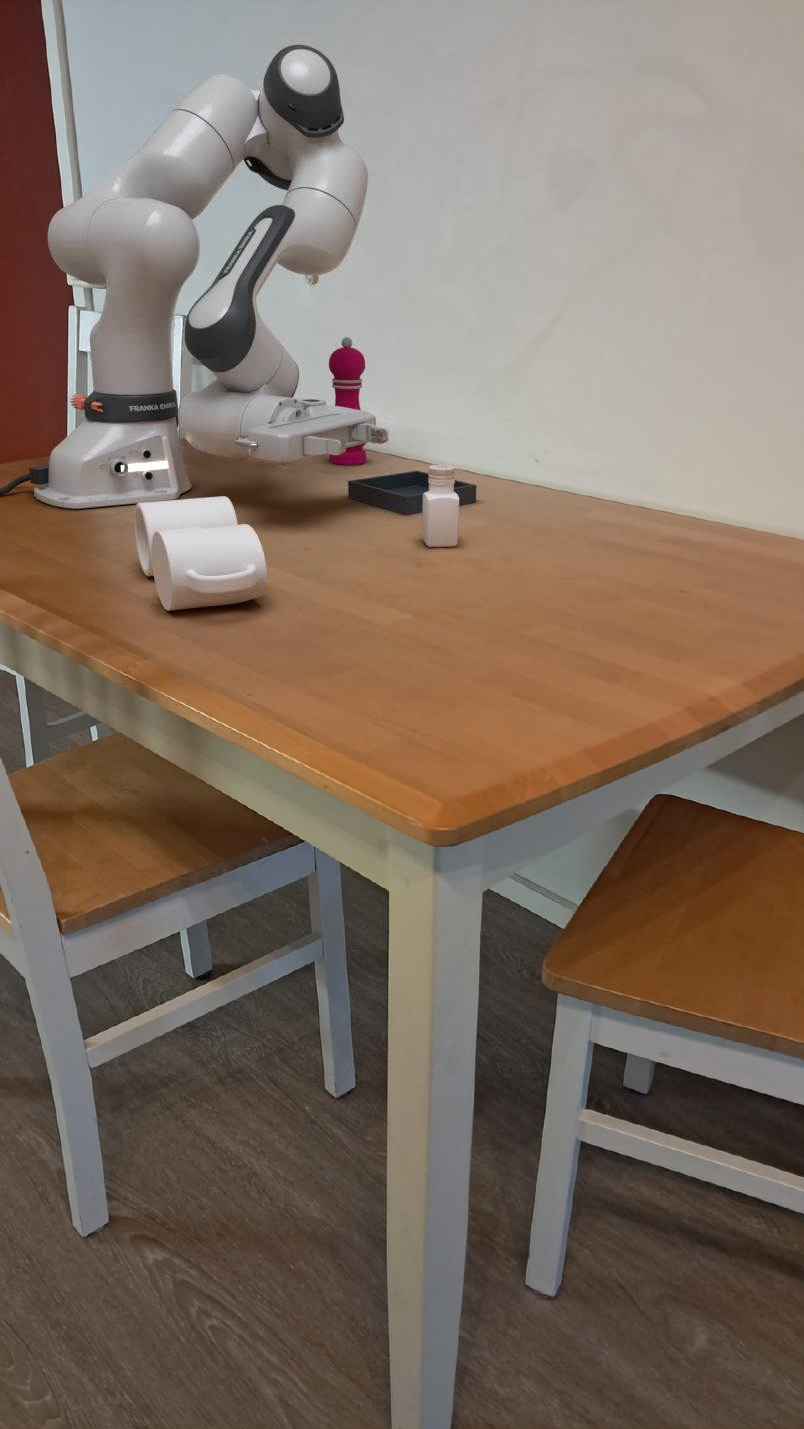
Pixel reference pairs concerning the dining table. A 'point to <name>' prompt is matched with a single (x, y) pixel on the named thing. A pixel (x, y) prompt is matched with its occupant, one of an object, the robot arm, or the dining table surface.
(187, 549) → the mug
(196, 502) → the mug
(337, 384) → the pepper mill
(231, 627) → the dining table surface
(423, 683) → the dining table surface
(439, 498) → the pepper shaker
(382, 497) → the spice tray
